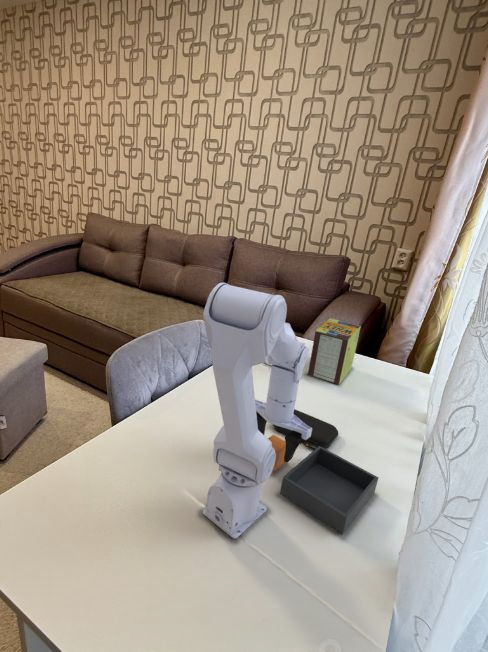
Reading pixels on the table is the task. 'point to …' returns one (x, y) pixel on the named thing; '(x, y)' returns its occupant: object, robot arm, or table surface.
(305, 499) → the bin
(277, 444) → the block
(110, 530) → the table surface
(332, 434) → the carrying case
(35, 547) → the table surface
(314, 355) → the protein box
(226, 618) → the table surface
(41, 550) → the table surface
